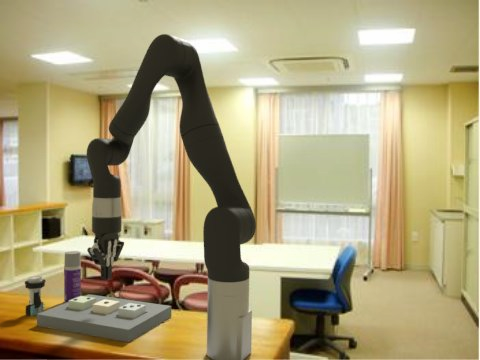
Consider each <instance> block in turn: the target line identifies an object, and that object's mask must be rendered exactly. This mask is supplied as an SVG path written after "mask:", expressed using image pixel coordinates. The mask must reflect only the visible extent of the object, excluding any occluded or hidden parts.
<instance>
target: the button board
mask: <svg viewBox="0 0 480 360" xmlns="http://www.w3.org/2000/svg"><path fill="white" fill-rule="evenodd" d="M85 296H86V297H92V298H96V303H97V302H99V301H102V300H104V299H106V300H113V301H120V307H122V306H124V305H126V304H128V303H134V304H141V305H145V314H143V315H142V316H140V317H138V318H136V319H132V318H126V317H120V316H118V311H116V312H114V313H111V314H109V315H107V314H101V313H94V312H93V307H91V308H89V309H87V310H84V311H82V310H76V309H69V308H68V302H67V303H62V304H60V305H57V306H55V307H51V308H49V309H46V310H43V311H42V312H41V313H38V314H36V326H37V327H43V328H46V329H47V328H49V329H53V330H54V329H55V330H58V331H59V330H60V331H65V332H69V333H74V334H75V333H76V334H81V335H85V336H91V337H92V336H93V337H98V338H102V339H103V338H104V339H109V340H114V341H119V342H120V341H121V342H124V343H130V342H131V341H133V340H135V339H136V338H138V337H140V336H141V335H144V334H146V333H147V332H148V331H150V330H152V329H153V328H155V327H157V326H159V325H160V324H162V323H164V322H166V321H167V320H168V319H170V318H172V305H166V304H159V303H153V302H144V301H138V300H131V299H125V298H119V297H118V298H117V297H110V296H103V295H96V294H91V293H90V294H89V293H88V294H85Z"/></svg>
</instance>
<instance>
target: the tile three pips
mask: <svg viewBox="0 0 480 360" xmlns="http://www.w3.org/2000/svg"><path fill="white" fill-rule="evenodd" d="M143 314H145V305H141V304H134V303H128V304H126V305H124V306H122V307H119V308H118V316H120V317H126V318H132V319H136V318H138V317H140V316H142V315H143Z"/></svg>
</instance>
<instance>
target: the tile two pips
mask: <svg viewBox="0 0 480 360" xmlns="http://www.w3.org/2000/svg"><path fill="white" fill-rule="evenodd" d="M95 303H96V298H92V297H86V295H81V296H79V297H77V298H74V299H71V300H69V301H68V308H69V309H76V310H82V311H84V310H87V309H89V308H91V307H93V304H95Z"/></svg>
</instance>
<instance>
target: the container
mask: <svg viewBox="0 0 480 360" xmlns="http://www.w3.org/2000/svg"><path fill="white" fill-rule="evenodd" d="M81 266H82V264H81V251H79V250H72V251H65V252H64V268H63V273H64V276H63V277H64V278H63V279H64V281H63V282H64V284H63V287H64V290H63V292H64V293H63V294H64V295H63V296H64V297H63V298H64V299H63V300H64V301H63V302H64V303H63V304H65V303H67V302H68V301H69V300H71V299H74V298H77V297H79V296H82V293H81V292H82V284H81V282H82V281H81V280H82V277H81V276H82V269H81V268H82V267H81Z"/></svg>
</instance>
